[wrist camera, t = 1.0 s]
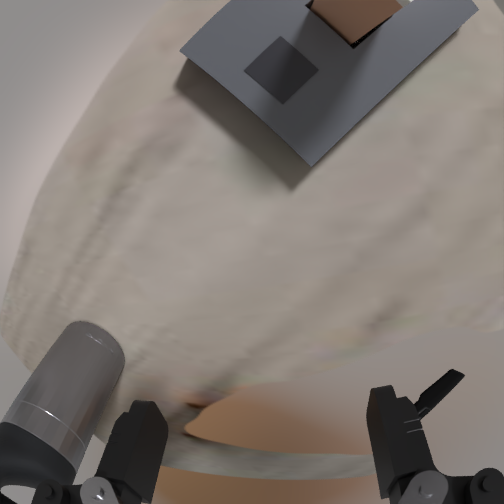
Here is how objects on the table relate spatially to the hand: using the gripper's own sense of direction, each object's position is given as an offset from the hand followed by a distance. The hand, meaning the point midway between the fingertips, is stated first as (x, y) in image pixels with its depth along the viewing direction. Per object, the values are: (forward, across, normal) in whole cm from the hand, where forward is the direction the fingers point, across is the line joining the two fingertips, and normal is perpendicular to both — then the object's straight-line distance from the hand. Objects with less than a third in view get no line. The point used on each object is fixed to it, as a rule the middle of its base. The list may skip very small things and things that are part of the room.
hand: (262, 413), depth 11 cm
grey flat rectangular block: (+22, +9, +17) cm, 29 cm away
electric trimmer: (+20, +20, -31) cm, 42 cm away
